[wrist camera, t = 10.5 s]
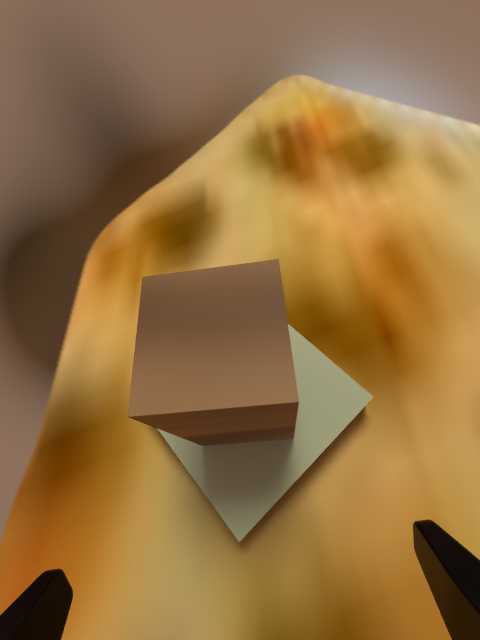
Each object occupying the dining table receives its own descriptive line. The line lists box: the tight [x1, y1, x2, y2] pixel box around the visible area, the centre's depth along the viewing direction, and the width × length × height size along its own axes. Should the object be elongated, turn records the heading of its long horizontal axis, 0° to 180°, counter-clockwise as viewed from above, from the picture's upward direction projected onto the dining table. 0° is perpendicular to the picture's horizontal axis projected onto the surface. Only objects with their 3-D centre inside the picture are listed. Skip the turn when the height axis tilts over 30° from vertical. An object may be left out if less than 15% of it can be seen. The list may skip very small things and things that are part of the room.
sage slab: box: [158, 324, 373, 542], centre depth 19 cm, size 10×10×3 cm
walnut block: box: [128, 259, 299, 446], centre depth 14 cm, size 5×5×9 cm
